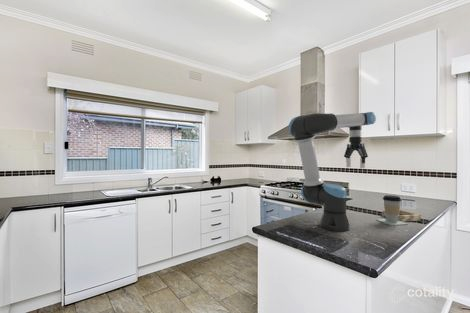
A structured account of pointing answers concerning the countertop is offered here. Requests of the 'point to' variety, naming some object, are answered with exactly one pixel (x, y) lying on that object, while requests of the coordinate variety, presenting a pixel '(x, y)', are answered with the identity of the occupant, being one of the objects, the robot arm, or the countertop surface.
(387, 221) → the coaster
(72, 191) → the countertop surface
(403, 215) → the holder
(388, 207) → the coffee cup
